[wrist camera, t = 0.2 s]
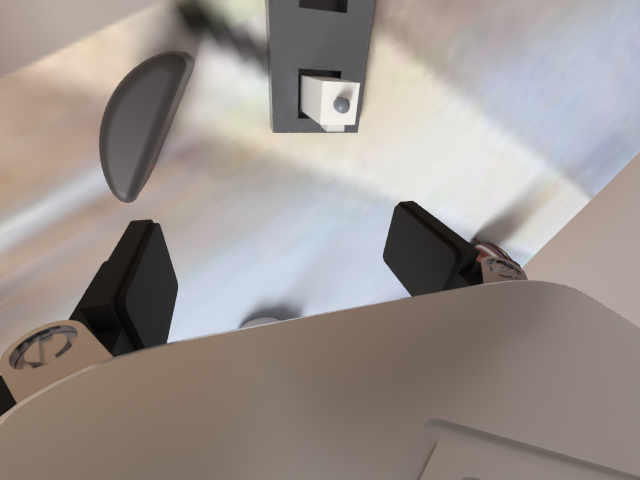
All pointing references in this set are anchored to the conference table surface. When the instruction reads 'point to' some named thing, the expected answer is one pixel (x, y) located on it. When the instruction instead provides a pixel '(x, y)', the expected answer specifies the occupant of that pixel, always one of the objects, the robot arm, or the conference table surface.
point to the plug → (329, 101)
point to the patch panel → (314, 54)
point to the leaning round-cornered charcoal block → (141, 121)
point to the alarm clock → (491, 251)
